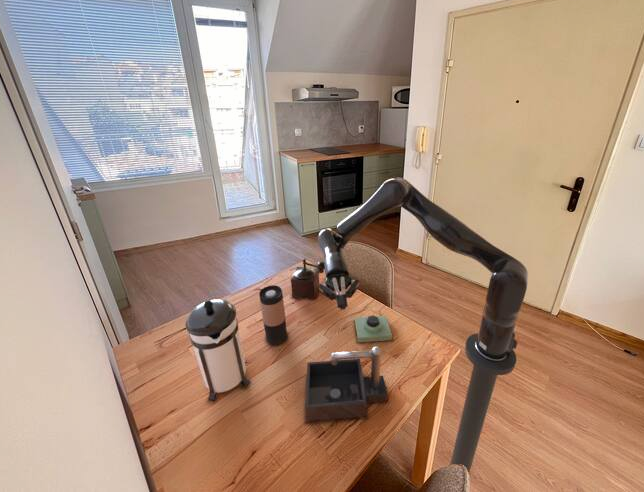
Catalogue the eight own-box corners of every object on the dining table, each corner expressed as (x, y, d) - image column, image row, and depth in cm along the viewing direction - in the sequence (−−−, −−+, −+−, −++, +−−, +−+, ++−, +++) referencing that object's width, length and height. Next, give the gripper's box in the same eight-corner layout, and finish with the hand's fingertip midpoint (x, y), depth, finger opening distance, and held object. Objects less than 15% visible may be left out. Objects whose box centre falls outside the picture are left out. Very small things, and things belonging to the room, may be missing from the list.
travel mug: (264, 332, 108) (257, 288, 100) (285, 327, 110) (280, 283, 102) (267, 348, 101) (260, 301, 93) (289, 341, 104) (284, 296, 95)
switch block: (385, 320, 113) (386, 311, 111) (391, 340, 104) (392, 331, 102) (355, 322, 112) (355, 313, 110) (358, 342, 103) (358, 333, 101)
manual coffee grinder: (291, 298, 125) (287, 262, 118) (298, 283, 135) (294, 249, 128) (326, 301, 123) (325, 265, 116) (331, 285, 133) (329, 251, 126)
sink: (380, 370, 92) (380, 356, 90) (389, 415, 80) (391, 400, 77) (308, 376, 91) (307, 362, 88) (306, 422, 78) (305, 407, 76)
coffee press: (263, 364, 95) (250, 288, 83) (230, 410, 81) (209, 327, 69) (220, 350, 101) (202, 277, 88) (182, 390, 87) (155, 311, 75)
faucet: (378, 380, 86) (380, 344, 80) (380, 388, 83) (382, 351, 78) (331, 383, 85) (330, 347, 79) (331, 391, 83) (330, 354, 77)
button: (377, 318, 108) (377, 315, 108) (379, 326, 105) (379, 323, 104) (366, 319, 108) (366, 315, 107) (368, 327, 105) (368, 323, 104)
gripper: (315, 261, 94) (318, 301, 80) (355, 256, 95) (365, 294, 81) (317, 279, 98) (320, 320, 83) (356, 274, 99) (366, 313, 84)
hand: (342, 307), depth 82 cm, fingers closed
